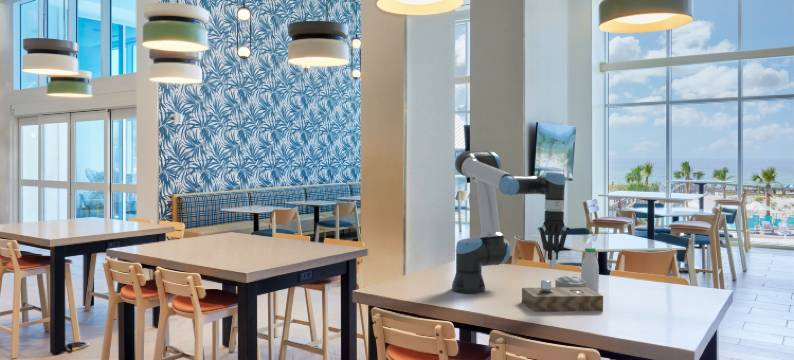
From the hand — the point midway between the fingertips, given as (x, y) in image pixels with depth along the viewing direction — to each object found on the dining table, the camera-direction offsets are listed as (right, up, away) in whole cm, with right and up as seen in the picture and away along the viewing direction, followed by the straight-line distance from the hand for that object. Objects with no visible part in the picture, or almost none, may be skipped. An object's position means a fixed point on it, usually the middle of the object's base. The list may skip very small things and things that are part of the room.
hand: (552, 267), depth 234 cm
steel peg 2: (+10, -16, +1) cm, 19 cm away
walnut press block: (+4, -16, 0) cm, 16 cm away
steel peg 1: (-3, -11, 0) cm, 12 cm away
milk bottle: (+24, -15, +28) cm, 40 cm away
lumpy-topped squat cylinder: (+12, -16, +17) cm, 26 cm away
